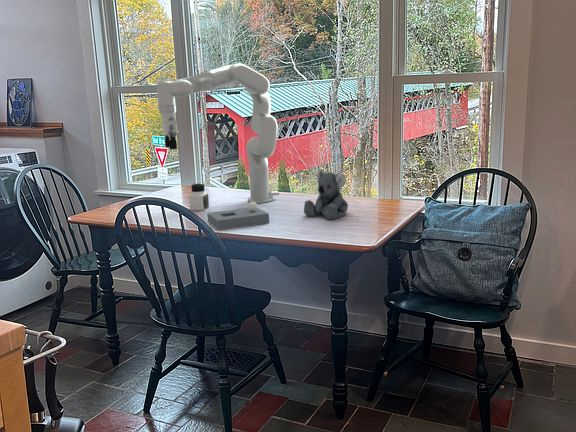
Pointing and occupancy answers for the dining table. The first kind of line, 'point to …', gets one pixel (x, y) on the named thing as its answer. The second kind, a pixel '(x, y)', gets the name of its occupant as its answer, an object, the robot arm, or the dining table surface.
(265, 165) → the robot arm
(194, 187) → the medicine bottle
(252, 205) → the ball
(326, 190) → the koala plush
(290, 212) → the dining table surface
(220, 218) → the grey flat block
